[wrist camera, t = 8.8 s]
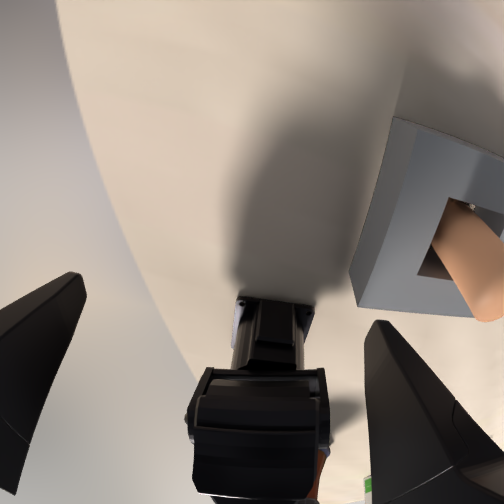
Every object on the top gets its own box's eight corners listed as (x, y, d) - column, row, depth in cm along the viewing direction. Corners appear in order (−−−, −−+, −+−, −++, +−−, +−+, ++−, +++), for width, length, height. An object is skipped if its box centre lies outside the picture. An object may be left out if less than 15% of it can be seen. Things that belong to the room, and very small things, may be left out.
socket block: (466, 288, 23) (483, 318, 20) (348, 271, 23) (357, 307, 20) (519, 165, 17) (549, 186, 13) (393, 116, 17) (417, 129, 13)
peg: (452, 243, 21) (504, 323, 14) (411, 234, 21) (460, 320, 14) (470, 198, 19) (537, 268, 11) (429, 185, 19) (495, 259, 11)
